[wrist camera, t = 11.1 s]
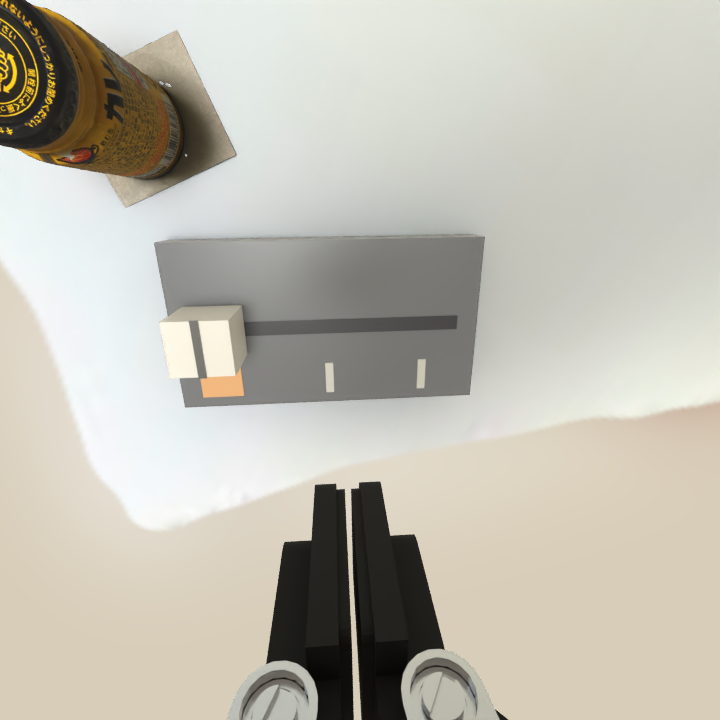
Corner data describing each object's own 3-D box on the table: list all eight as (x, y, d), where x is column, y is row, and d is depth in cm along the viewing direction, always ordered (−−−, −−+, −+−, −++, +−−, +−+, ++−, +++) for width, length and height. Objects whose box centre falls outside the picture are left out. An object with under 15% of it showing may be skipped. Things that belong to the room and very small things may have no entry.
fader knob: (241, 304, 27) (227, 319, 24) (247, 354, 29) (235, 377, 25) (182, 306, 27) (158, 322, 23) (190, 356, 28) (169, 379, 25)
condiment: (57, 92, 25) (-168, -4, 14) (177, 31, 24) (47, -122, 13) (126, 208, 27) (-13, 207, 16) (237, 155, 27) (171, 117, 16)
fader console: (472, 234, 30) (485, 236, 27) (459, 381, 34) (469, 395, 31) (168, 240, 28) (153, 242, 26) (195, 393, 32) (184, 408, 30)
